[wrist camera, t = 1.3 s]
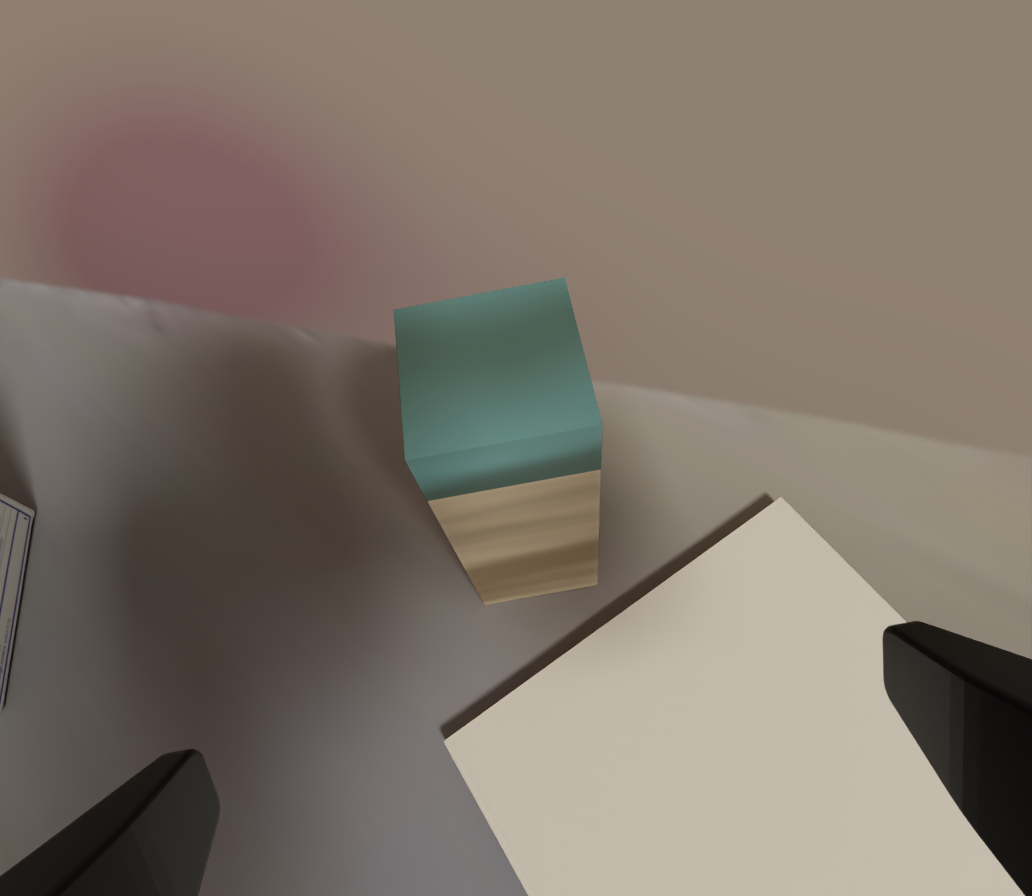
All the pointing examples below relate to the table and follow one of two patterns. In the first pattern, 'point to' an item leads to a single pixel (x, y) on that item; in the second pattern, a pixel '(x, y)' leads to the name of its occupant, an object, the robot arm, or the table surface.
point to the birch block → (505, 436)
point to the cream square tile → (725, 744)
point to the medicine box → (11, 575)
